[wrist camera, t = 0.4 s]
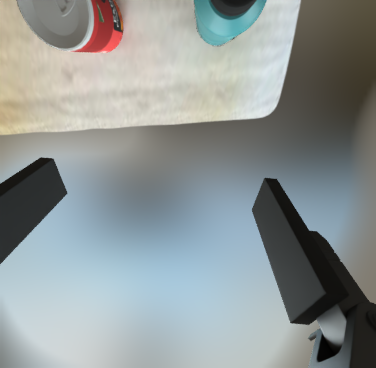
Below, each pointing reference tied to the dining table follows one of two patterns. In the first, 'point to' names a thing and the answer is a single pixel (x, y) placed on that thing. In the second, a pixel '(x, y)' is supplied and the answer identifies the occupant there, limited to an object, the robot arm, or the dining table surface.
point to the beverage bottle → (225, 18)
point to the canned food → (75, 23)
